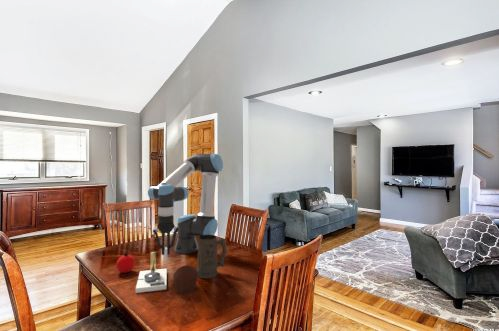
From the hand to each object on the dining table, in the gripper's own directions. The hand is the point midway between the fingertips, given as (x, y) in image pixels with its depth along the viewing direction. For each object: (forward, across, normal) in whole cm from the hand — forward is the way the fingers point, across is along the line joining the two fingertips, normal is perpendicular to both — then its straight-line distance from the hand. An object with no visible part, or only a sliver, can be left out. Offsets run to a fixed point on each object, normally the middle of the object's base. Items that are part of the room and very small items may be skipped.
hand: (165, 260), depth 137 cm
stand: (+8, +6, +5) cm, 11 cm away
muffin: (+8, -7, +19) cm, 22 cm away
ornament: (+8, +19, -12) cm, 24 cm away
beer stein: (+8, -23, +6) cm, 25 cm away
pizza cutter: (+5, +6, +5) cm, 9 cm away
